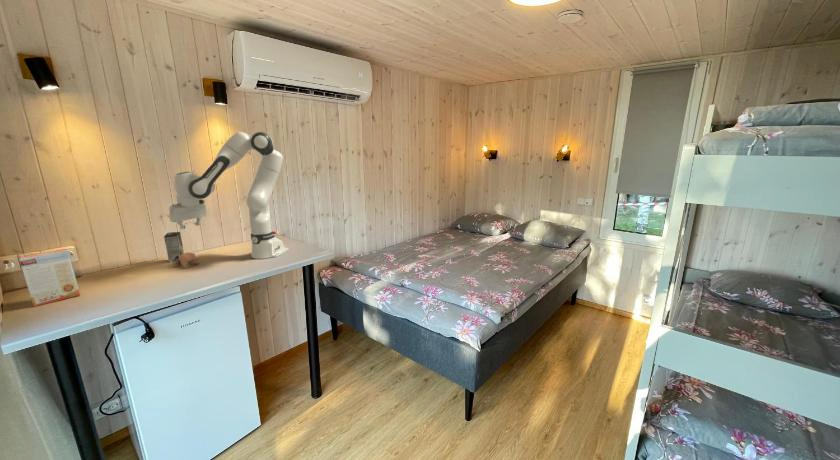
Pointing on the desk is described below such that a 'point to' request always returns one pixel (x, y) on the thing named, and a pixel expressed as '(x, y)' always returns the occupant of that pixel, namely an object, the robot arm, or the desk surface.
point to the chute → (186, 264)
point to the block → (186, 257)
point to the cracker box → (49, 276)
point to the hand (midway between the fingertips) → (190, 227)
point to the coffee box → (173, 246)
